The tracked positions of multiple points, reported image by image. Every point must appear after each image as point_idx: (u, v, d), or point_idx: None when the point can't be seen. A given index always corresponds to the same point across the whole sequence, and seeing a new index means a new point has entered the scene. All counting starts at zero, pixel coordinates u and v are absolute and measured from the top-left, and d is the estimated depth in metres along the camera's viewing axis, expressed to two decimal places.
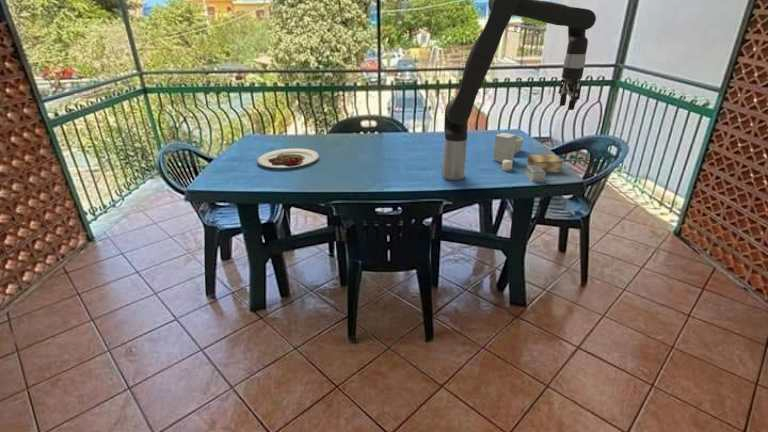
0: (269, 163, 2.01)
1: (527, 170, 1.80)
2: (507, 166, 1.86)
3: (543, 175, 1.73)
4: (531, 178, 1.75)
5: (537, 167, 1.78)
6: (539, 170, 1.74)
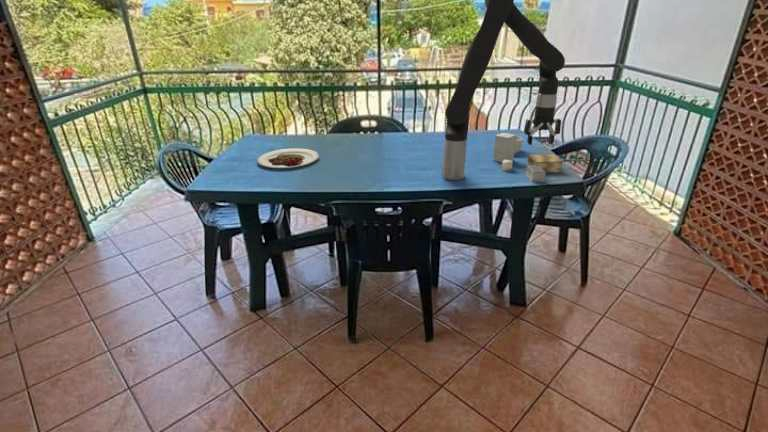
0: (269, 163, 2.01)
1: (527, 170, 1.80)
2: (507, 166, 1.86)
3: (543, 175, 1.73)
4: (531, 178, 1.75)
5: (537, 167, 1.78)
6: (539, 170, 1.74)
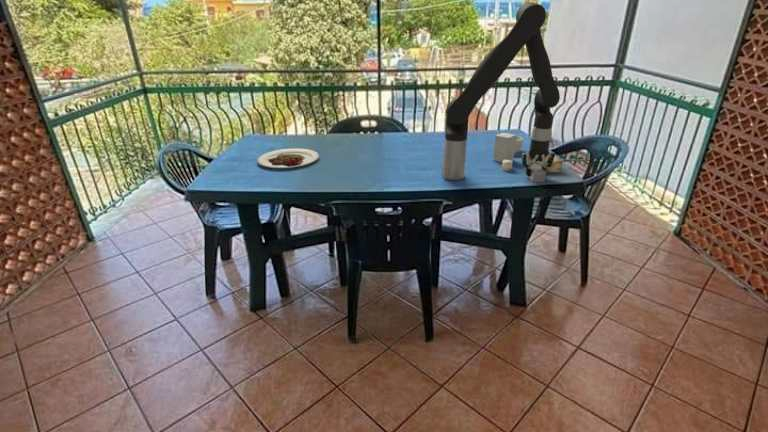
0: (269, 163, 2.01)
1: None
2: (507, 166, 1.86)
3: (543, 174, 1.73)
4: (531, 177, 1.75)
5: (537, 166, 1.78)
6: (539, 169, 1.74)
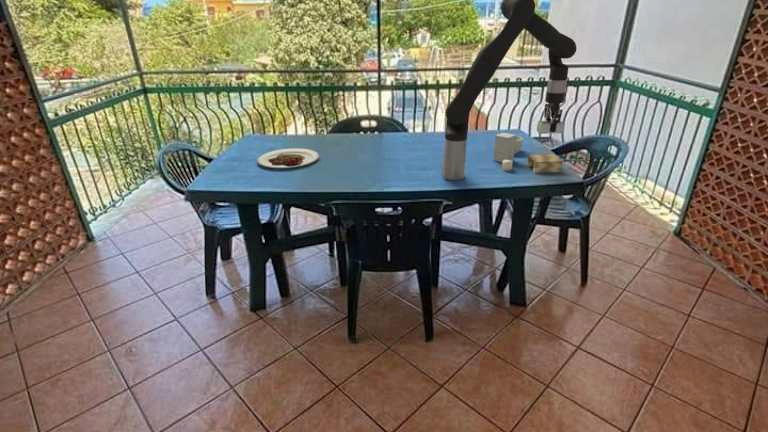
0: (269, 163, 2.01)
1: (546, 127, 1.78)
2: (507, 166, 1.86)
3: None
4: (560, 130, 1.78)
5: (548, 121, 1.80)
6: None
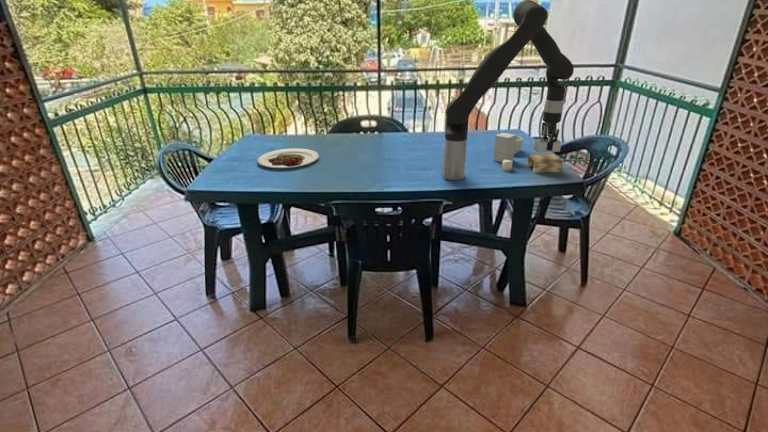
0: (269, 163, 2.01)
1: (543, 146, 1.81)
2: (507, 166, 1.86)
3: None
4: (557, 149, 1.82)
5: (545, 139, 1.84)
6: None
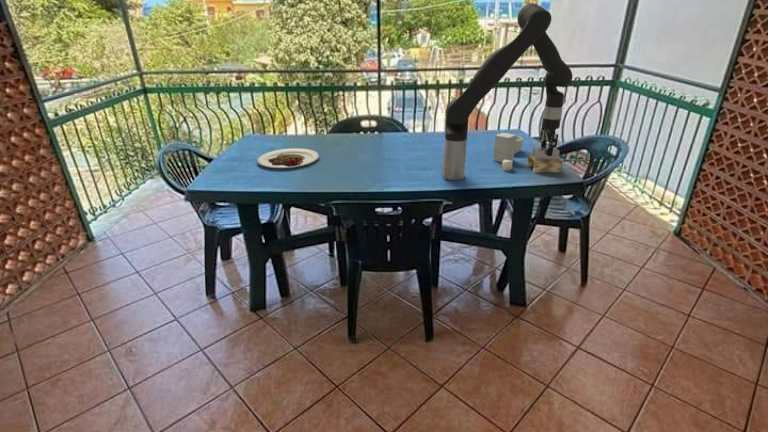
0: (269, 163, 2.01)
1: (541, 154, 1.83)
2: (507, 166, 1.86)
3: None
4: (555, 157, 1.84)
5: (543, 148, 1.85)
6: None
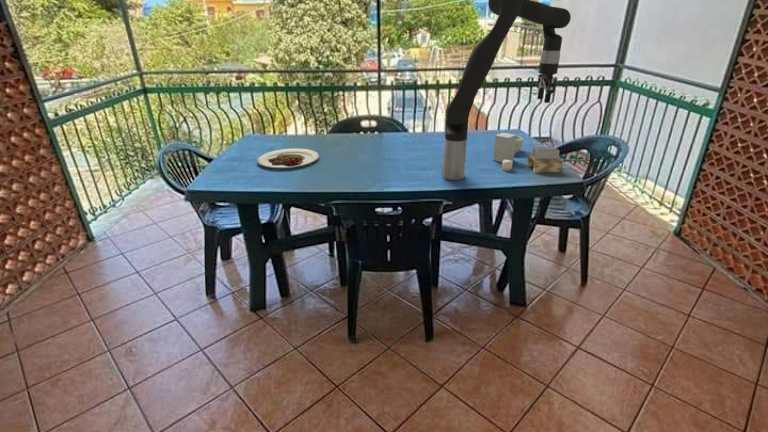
0: (269, 163, 2.01)
1: (541, 154, 1.83)
2: (507, 166, 1.86)
3: None
4: (555, 157, 1.84)
5: (543, 148, 1.85)
6: (552, 148, 1.85)
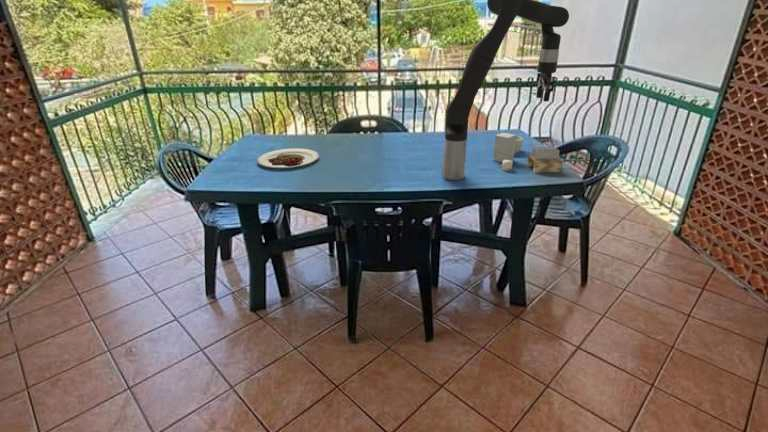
0: (269, 163, 2.01)
1: (541, 154, 1.83)
2: (507, 166, 1.86)
3: None
4: (555, 157, 1.84)
5: (543, 148, 1.85)
6: (552, 148, 1.85)
